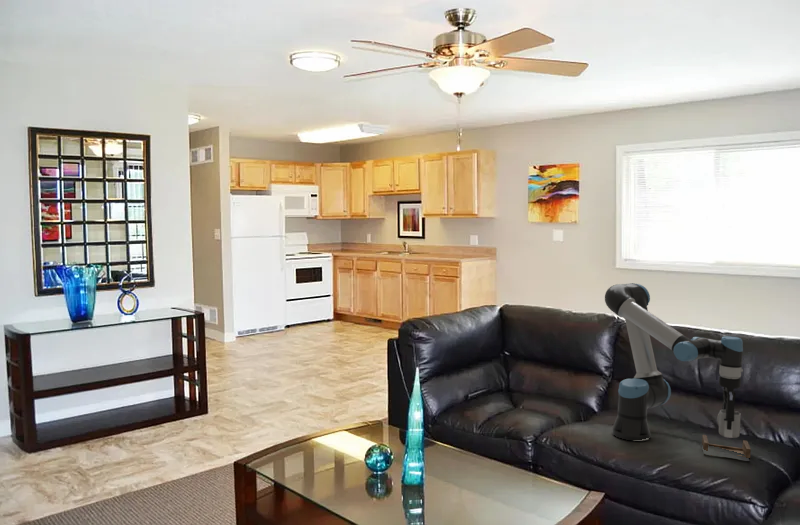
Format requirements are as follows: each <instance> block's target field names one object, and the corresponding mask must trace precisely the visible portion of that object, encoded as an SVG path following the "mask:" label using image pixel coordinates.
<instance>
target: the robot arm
mask: <svg viewBox="0 0 800 525" xmlns="http://www.w3.org/2000/svg"><path fill="white" fill-rule="evenodd" d="M650 301H651V296H650V293H649V291H648V289H647V288H646V287H645V286H644V285H643V284H640V283H619V284H618V283H617V284H614V285H611V286H610V287H608V288H607V290H606V292H605V294H604V303H605V305H606V306H607V308H608V309H609V310H610V311H611V312H612V313H614V314H615V315H616V316H618V317H620V318H622V319H624V320H625V325H626V330H627V334H628V338H629V339H628V340H629V345H630V348H631V353H632V358H633V362H634V367H635V372H636V373H635V375H634V376H633V378H626V379H625V378H624V379H623V380H621V381H620V382H619V383H618V384H619V386H618V389H617V393H618V395H617V396H618V397H617V398H618V399H617V416H616V417H615V421H614V423H613V426H612V430H611V434H612V435H613V436H614V435H615V436H616V437H615V436H614V437H615V438H617V437H619V438H618V439H620V438H622V439H621V440H623V439H627V440H642V439H646V438H649V437H650V438H651V430H650V426H649V424H648V409H653V408H656V407H661V406H662V405H665V404H666V403H667V402H668V401H669V400H670V399H671V395H672V389H671V386H670V383H669V382H668V381H666V379H664V377H663V373H662V372H660V371H659V370H658V368H657V363H656V358H655V354H654V350H653V344H652V340H651V337H652V338H654V339H655V340H657V341H658V342H659V343H661V344H662V345H664V346H665V347H667V348H668V349H670V350H671V351H672V352H673V354H674V356H675V358H676V359H677V360H679V361H680V362H692V361H696V360H700V359H706V358H710V359H715V360H719V371H718V372H719V378H718V384H719V386H720V387H722V388H723V390H722V394H723V396H722V408H721V410H726V419H724V421H725V431H724V436H723V438H728V439H729V438H730V439H732V434H733V421H734V411H735V404H736V400H735V398H736V391H735V389H740V388H741V383H742V379H741V378H742V373H743V372H744V369H743V368H742V364H743V354H744V347H743V346H744V344H743V342H744V341H743V339H742V338H741V337H739V336H730V335H729V336H727V335H726V336H725V335H724V336H722V337H721V339H719V340H718V339H712V338H708V337H707V338H706V337H703V336H693V337H692V338H689V337H687V336H685V335H684V334H682V332H680V331H678V330H676V329H675V328H674V327H673V326H671V325H670V324H668V323H666V322H665V321H663V320H662V319H661V318H659V317H658V316H656V315H654V314H653V313H652V312H650V311H649V310H648V305H649V303H650ZM729 417H732V418H729ZM627 440H626V441H627Z"/></svg>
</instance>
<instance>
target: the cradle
mask: <svg viewBox="0 0 800 525" xmlns="http://www.w3.org/2000/svg"><path fill="white" fill-rule="evenodd" d="M702 445H703V449H704V450H706V451H708V445H709V446H714V447H719V448H722V449H726V450H729V451H734V452H737V453H741V454H744V455H745V456H742V455H737V456H742V457H746V458H750V459H751V455H752V454H751V451H752V448H751V447H750V446H751V445H750V444H749V442H748V440H744V439H743V440H742V447H737V446H730V445H729V446H728V445H721V444H714V443H710V442H709V440H708V436H707V435H706V434H702V438H701V446H702Z"/></svg>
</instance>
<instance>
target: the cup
mask: <svg viewBox="0 0 800 525" xmlns="http://www.w3.org/2000/svg"><path fill="white" fill-rule="evenodd" d="M741 414H742V413H740V412H739V411H735V410H734V421H733V434H732V438H733V439H736V438H739V437H740V432H741ZM729 418H732V417H729ZM716 419H717V420H716V422H717V425H718V434H719V435H720V436H722V437H724V431H725V421H724V419H726V410H722V409H719V412H718V414H717V418H716ZM732 438H731V439H732Z"/></svg>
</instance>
